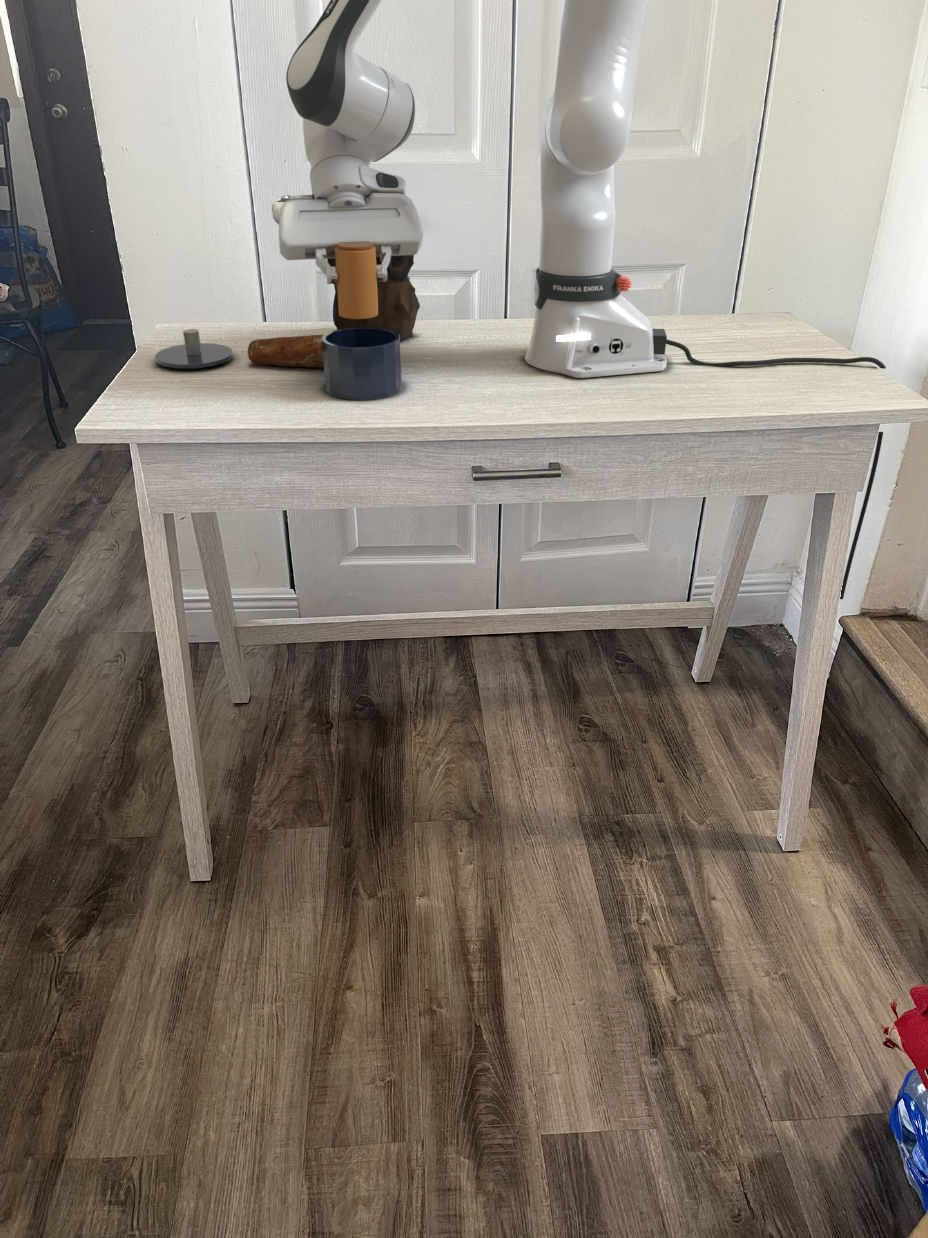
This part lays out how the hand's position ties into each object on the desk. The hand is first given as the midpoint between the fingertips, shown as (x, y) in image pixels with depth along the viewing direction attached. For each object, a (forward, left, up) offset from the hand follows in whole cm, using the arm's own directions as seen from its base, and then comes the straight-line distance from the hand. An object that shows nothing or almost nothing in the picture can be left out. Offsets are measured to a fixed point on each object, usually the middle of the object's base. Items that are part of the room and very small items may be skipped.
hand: (357, 280), depth 132 cm
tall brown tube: (0, -1, -5) cm, 5 cm away
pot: (0, -1, -15) cm, 16 cm away
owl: (-2, -29, -16) cm, 33 cm away
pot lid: (+27, -17, -15) cm, 35 cm away
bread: (+9, -12, -16) cm, 21 cm away
